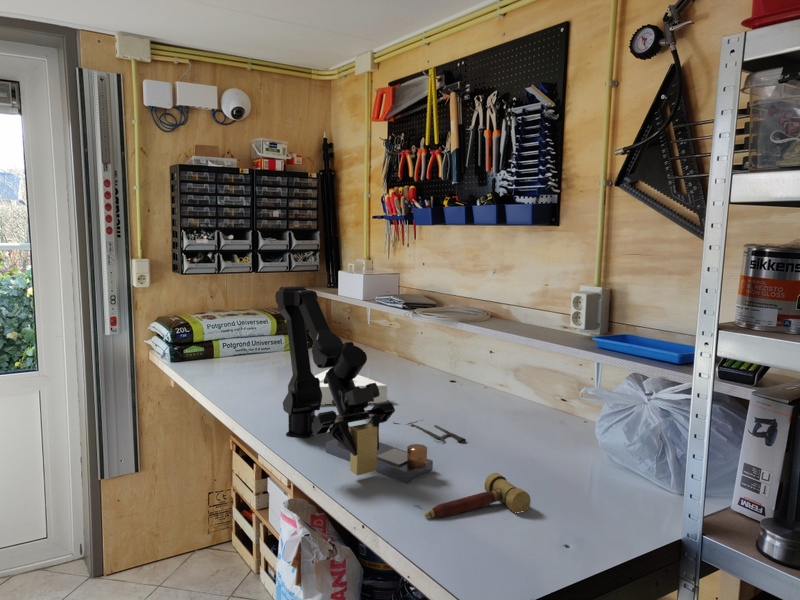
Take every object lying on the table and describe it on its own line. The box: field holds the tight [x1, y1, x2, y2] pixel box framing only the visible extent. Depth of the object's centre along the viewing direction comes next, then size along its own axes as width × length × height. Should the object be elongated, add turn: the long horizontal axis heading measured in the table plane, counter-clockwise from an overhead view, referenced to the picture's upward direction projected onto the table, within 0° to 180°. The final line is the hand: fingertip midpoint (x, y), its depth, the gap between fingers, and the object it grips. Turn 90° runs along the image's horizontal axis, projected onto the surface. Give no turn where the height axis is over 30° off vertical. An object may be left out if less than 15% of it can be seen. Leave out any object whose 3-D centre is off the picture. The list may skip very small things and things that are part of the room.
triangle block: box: [314, 367, 388, 406], centre depth 191 cm, size 30×26×6 cm
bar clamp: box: [393, 419, 467, 444], centre depth 162 cm, size 24×10×2 cm, turn 29°
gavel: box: [424, 472, 532, 519], centre depth 119 cm, size 21×5×10 cm
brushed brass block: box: [349, 423, 378, 476], centre depth 131 cm, size 3×5×10 cm, turn 123°
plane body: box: [325, 425, 434, 484], centre depth 141 cm, size 27×9×6 cm, turn 49°
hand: (366, 452), depth 130 cm, fingers open, 5 cm apart
